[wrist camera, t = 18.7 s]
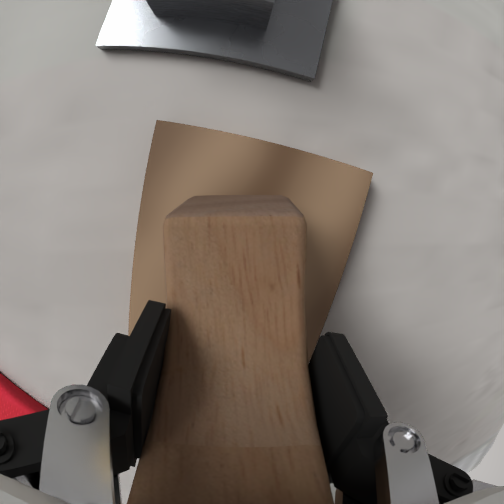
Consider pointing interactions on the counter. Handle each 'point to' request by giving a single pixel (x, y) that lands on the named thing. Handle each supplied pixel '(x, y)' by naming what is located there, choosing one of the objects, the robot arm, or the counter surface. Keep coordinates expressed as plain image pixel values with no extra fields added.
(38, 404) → the dish drying mat
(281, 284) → the wooden block
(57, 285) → the counter surface
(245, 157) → the board
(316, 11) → the plate
